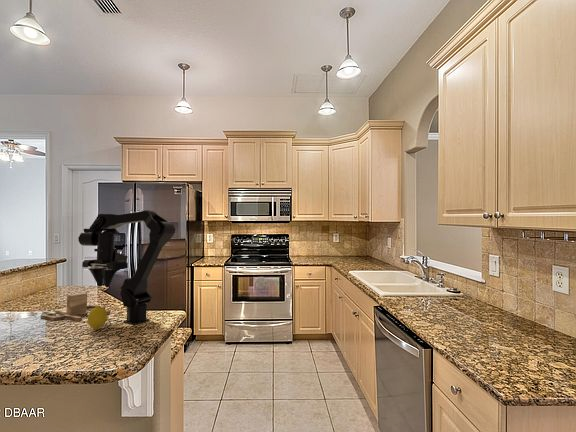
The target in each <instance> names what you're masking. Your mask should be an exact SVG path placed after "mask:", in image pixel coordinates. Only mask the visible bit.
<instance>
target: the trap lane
mask: <svg viewBox="0 0 576 432" xmlns="http://www.w3.org/2000/svg"><path fill="white" fill-rule="evenodd" d="M97 306H98V305H94V304H91V305H87V309H86V311H89V312H90V311H91V310H92V309H93V308H95V307H97ZM99 306H100V307H103V308H104V309H105V310H106V312H107V315H110V314H111V310H107V309H106V306H101V305H99ZM41 318H43V319H42V320H45V321H46V320H47V321H51V322H52V321H53V322H56V321H61V320H62V321H63V320H70V321H74V322H81V321H83V317H82V316H79V315H75V316H72V315H59V316H57V314H56V312H54V311H50V310H42V312H41V315H40V319H41Z"/></svg>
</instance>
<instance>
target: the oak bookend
mask: <svg viewBox="0 0 576 432" xmlns="http://www.w3.org/2000/svg"><path fill="white" fill-rule="evenodd" d="M87 303H88V292H79V293H71V294H67V296H66V307H64V308H59V309H54V310H53V312H56V315H60V316H63V315H72V316H80V315H85V314H87V310H86V309H87V306H88V305H87Z"/></svg>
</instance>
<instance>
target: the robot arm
mask: <svg viewBox="0 0 576 432" xmlns="http://www.w3.org/2000/svg"><path fill="white" fill-rule="evenodd" d="M142 222H143V223H145V226H146V228H148V229H149V236H148V237H149V243H148V246H147V247H146V249H145V251H144V254H143V255H142V257H141V260H140V262H139V264H138V266H137V268H136V270H135V272H134V274H133V275H132V276H131V277H129V278H125V279H124V280H123V284H122V286H121V287H120V288H119V289H120V293H119V295H120V297H121V300H122V305H123V307H124V308H125V307H126V319H124V320H123V322H122V323H127V324H131V325H132V324H133V325H137V323H138V324H140V323H145V322H147V321H150V318H147V310H148V309H147V306H148V304H149V303H151V301H152V296H151V295H150V293H149V292H148V278H149V276H150V275H151V272H152V270H153V268H154V266H155V264H156V262H157V259H158V257H159V256H160V253H161V251H162V249H163V248H164V246H165V245H166V244H167V243H168V242H170V241H171V239H172V238H173V236H174V235H175V233H176V228H175V227H176V226H175V225H174V224H173V223H172V222H169V221H168V220H166V219H165V218H164V217H162V216H160V215H159V214H158V213H157V212H155V211H154V210H150V209H143V210H141V211H134V212H133V211H132V212H126V213H125V212H124V213H120V214H119V213H118V214H114V213H98V214H97V216H96V218H95V220H94V221H93V222H92V224H91V225H90V226H89V228H83V231H82V232H80V234H79V236H78V239H77V241H78V243H79V244H80V245H81V246H87V247H89V246H90V247H96V248H94V252H95V253H96V259H95V258H94V259H92V258H91V259H84V260H83V261H82V263H81V267H82V268H88V271H89V272H90V273H91V275H92V277H93V279H94V280H95V282H96V284H97V286H98V287H99V288H100V287H102V286H103V283H104V287H105V288H109V287H110V285H111V282H112V280H113V278H114V276H115V274H116V273H117V272H118V271H121V270H123V269H128V267H129V263H128V262H127V260H128V257H129V256H128V255H125V254H123V253H119V252H118V248H115V244H116V243H115V242H116V241H115V238H116V235H120V234H121V233H120V232H119V231H118V230H117V229H118V228H120V227H122V226H124V225H128V224H136V223H142ZM103 281H104V282H103Z"/></svg>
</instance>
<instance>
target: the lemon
mask: <svg viewBox="0 0 576 432" xmlns="http://www.w3.org/2000/svg"><path fill="white" fill-rule="evenodd" d="M96 306H97V307H95V308H93V309H92V310H91V311H90V310H89V312H88V315H87V324H88V326H89V327H90V328H92V329H94V330H95V331H98V330H99V329H100V328H102V327H103V326H104V325H105V324H106V322H107V319H108V314H107V312H106V310H107V309H106V308H105V309H104V308H103V307H104V306H103V307H100V306H101V305H96Z"/></svg>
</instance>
